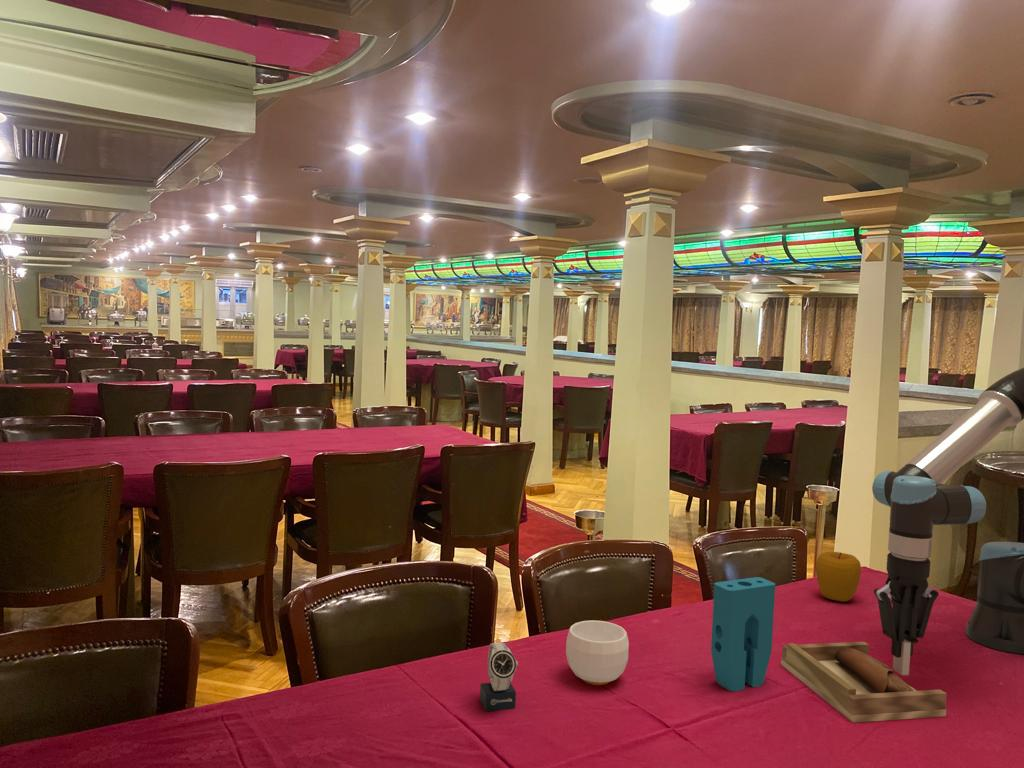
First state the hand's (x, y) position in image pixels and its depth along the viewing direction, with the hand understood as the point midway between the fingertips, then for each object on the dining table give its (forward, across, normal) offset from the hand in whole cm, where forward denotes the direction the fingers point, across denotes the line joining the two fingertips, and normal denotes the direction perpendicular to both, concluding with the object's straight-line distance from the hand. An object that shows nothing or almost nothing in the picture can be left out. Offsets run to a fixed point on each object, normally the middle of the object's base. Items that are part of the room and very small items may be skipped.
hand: (900, 672), depth 149 cm
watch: (+4, +81, -2) cm, 81 cm away
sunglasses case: (+2, +5, 0) cm, 6 cm away
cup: (+3, +60, -10) cm, 61 cm away
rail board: (+3, +9, 0) cm, 10 cm away
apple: (+3, -18, -48) cm, 51 cm away
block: (+3, +32, -5) cm, 32 cm away
